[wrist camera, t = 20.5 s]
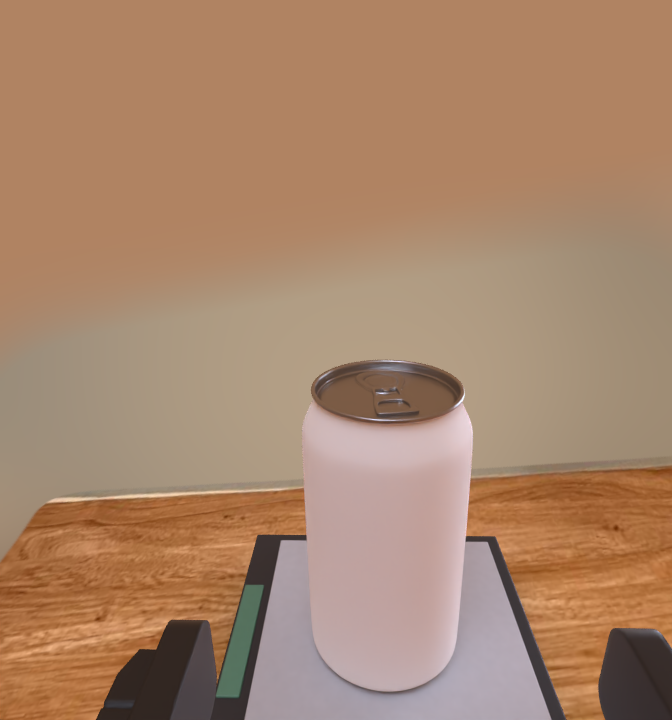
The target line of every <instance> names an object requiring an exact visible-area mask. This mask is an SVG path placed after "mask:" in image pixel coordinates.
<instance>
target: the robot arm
mask: <svg viewBox="0 0 672 720" xmlns="http://www.w3.org/2000/svg"><path fill="white" fill-rule="evenodd" d="M216 683H217V675H216V666H215V659H214V651H213V644H212V637H211V630H210V624H209V622H208V621H207V620H171V621H169V623H168V624H167V626H166V628H165V630H164V632H163V635H162V637H161V640H160V642H159V644H158V647H157V649H156V650H149V649H140V650H139V651H138V652H137V653H136V654H135V655H134V656H133V657H132V658H131V660H130V661H129V662H128V663H127V664H126V665H125V666H124V667H123V668H122V670H121V671H120V672H119V673H118V674H117V676H116V679H115V681H114V683H113V685H112V687H111V689H110V691H109V693H108V695H107V698H106V700H105V702H104V707H103V708H101V710H100V712H99V715H98V717H97V719H96V720H210V718H211V714H212V710H213V706H214V701H215V694H216ZM598 689H599V699H600V704H601V708H602V711H603V714H604V717H605V720H672V648H671V647H670V645H669V644H668V643H667V641H666V640H665V638H664V637H663V635H662V634H661V633H660V632H658V631H657V630H655V629H635V628H614V629H612V630H611V632H610V635H609V639H608V643H607V648H606V652H605V656H604V661H603V665H602V669H601V674H600V678H599V685H598Z"/></svg>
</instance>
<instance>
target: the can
mask: <svg viewBox="0 0 672 720" xmlns="http://www.w3.org/2000/svg"><path fill="white" fill-rule="evenodd" d="M311 394H312V397H313V401H312V403H311V405H310V407H309V409H308V411H307V413H306V416H305V418H304V422H303V428H302V448H303V471H304V493H305V513H306V533H307V553H308V571H309V590H310V607H311V622H312V632H313V638H314V642H315V645H316V647H317V650H318V652H319V654H320V655H321V657H322V658H323V660H324V661H325V662H326V664H327V665H328V666H329V667H330V668H331V669H332V670H333V671H334V672H335V673H337V674H338V675H339V676H341V677H342V678H344V679H345V680H347V681H349V682H351V683H353V684H355V685H358V686H360V687H363V688H366V689H370V690H374V691H382V692H395V691H403V690H408V689H412V688H415V687H418V686H420V685H423V684H425V683H426V682H428V681H430V680H431V679H433V678H434V677H436V676H437V675H438V674H439V673H440V672H441V671H442V670H443V669H444V668H445V667H446V665H447V664H448V662H449V661H450V659H451V657H452V655H453V652H454V649H455V645H456V640H457V632H458V621H459V611H460V599H461V588H462V576H463V564H464V552H465V540H466V527H467V515H468V502H469V489H470V477H471V462H472V446H473V429H472V425H471V421H470V419H469V416H468V414H467V412H466V410H465V407H464V405H463V403H462V401H463V399H464V395H465V390H464V387H463V385H462V383H461V382H460V381H459V380H458V379H457V378H456V377H454V376H453V375H451V374H450V373H448V372H446V371H444V370H441V369H439V368H436V367H433V366H429V365H426V364H421V363H416V362H409V361H400V360H369V361H360V362H354V363H349V364H344V365H341V366H338V367H335V368H332V369H330V370H328V371H326V372H324V373H322V374H321V375H320V376H318V377H317V378H316V379H315V381H314V382H313V384H312V387H311Z"/></svg>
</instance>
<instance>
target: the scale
mask: <svg viewBox="0 0 672 720" xmlns="http://www.w3.org/2000/svg"><path fill="white" fill-rule="evenodd" d="M210 720H566V718H565V715H564V713H563V710H562V707H561V705H560V702H559V700H558V697H557V695H556V692H555V689H554V687H553V684H552V682H551V679H550V676H549V674H548V671H547V669H546V666H545V663H544V661H543V658H542V656H541V653H540V651H539V648H538V645H537V643H536V640H535V638H534V635H533V632H532V630H531V627H530V625H529V622H528V620H527V617H526V614H525V612H524V609H523V607H522V604H521V601H520V599H519V596H518V594H517V591H516V588H515V586H514V583H513V581H512V578H511V576H510V573H509V570H508V568H507V565H506V563H505V560H504V557H503V555H502V552H501V550H500V547H499V544H498V542H497V539H496V537H492V536H466V540H465V552H464V564H463V576H462V588H461V599H460V611H459V621H458V632H457V640H456V645H455V649H454V652H453V655H452V657H451V659H450V661H449V662H448V664H447V665H446V667H445V668H444V669H443V670H442V671H441V672H440V673H439V674H438V675H437V676H436V677H434V678H433V679H431V680H430V681H428V682H426V683H425V684H423V685H420V686H418V687H415V688H412V689H408V690H403V691H395V692H382V691H374V690H370V689H366V688H363V687H360V686H358V685H355V684H353V683H351V682H349V681H347V680H345V679H344V678H342V677H341V676H339V675H338V674H337V673H335V672H334V671H333V670H332V669H331V668H330V667H329V666H328V665H327V664H326V662H325V661H324V660H323V658H322V657H321V655H320V654H319V652H318V650H317V647H316V645H315V642H314V638H313V632H312V622H311V607H310V590H309V571H308V553H307V535H258V536H257V540H256V543H255V547H254V551H253V554H252V558H251V562H250V565H249V569H248V573H247V576H246V580H245V584H244V587H243V591H242V595H241V598H240V602H239V606H238V609H237V613H236V617H235V620H234V624H233V628H232V631H231V635H230V639H229V642H228V646H227V650H226V653H225V657H224V661H223V664H222V668H221V672H220V675H219V679H218V683H217V686H216V694H215V701H214V706H213V710H212V714H211V718H210Z"/></svg>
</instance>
